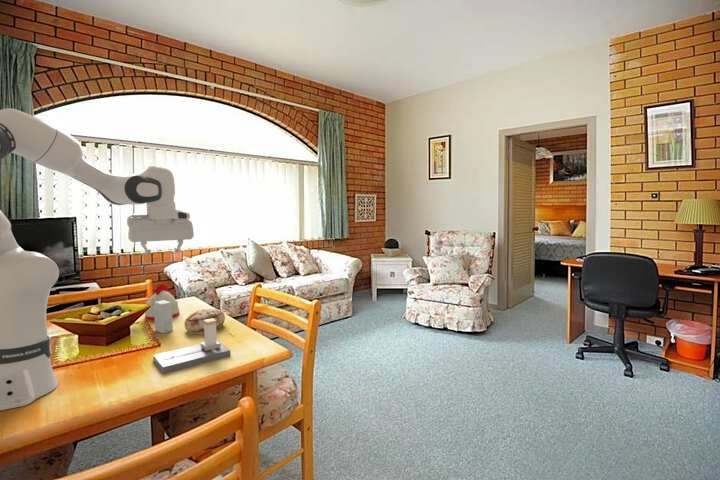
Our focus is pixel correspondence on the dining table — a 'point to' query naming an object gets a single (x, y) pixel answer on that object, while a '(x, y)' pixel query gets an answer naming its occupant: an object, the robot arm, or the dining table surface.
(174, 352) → the fader console
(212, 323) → the fader knob
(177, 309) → the kitchen timer
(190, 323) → the trinket box
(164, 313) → the skincare box
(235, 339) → the dining table surface
